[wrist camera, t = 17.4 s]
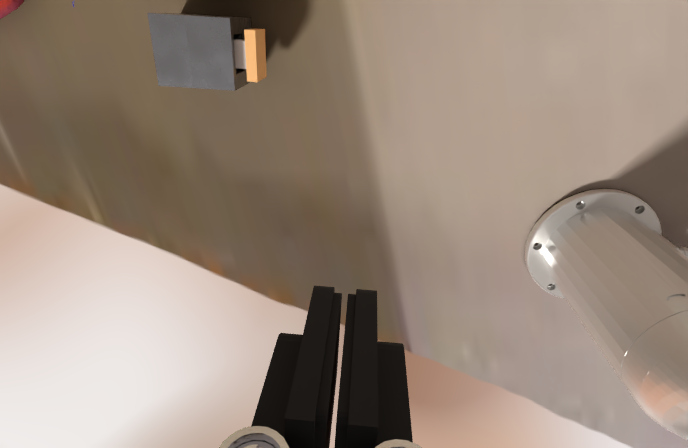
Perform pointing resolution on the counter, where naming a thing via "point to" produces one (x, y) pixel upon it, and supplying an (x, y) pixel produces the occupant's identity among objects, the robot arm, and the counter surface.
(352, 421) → the robot arm
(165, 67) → the grey metal housing
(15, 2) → the anatomical model
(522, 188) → the counter surface
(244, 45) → the plunger
